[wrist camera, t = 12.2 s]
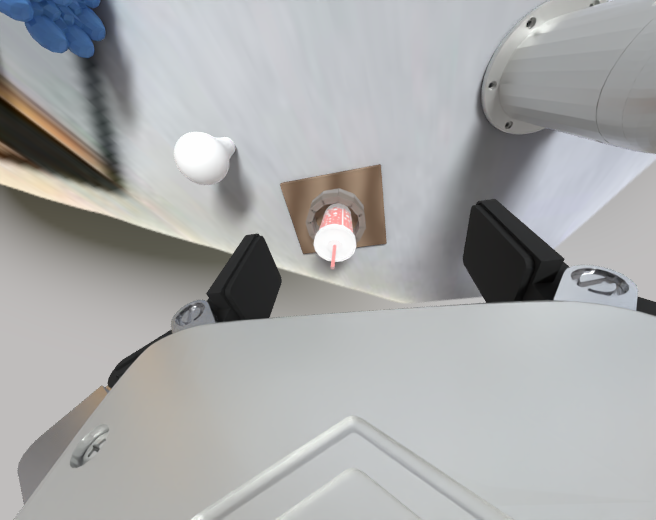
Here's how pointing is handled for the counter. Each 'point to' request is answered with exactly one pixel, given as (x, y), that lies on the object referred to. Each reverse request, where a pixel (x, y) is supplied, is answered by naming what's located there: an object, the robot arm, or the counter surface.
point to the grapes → (59, 23)
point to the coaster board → (346, 181)
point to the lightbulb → (203, 157)
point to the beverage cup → (335, 235)
